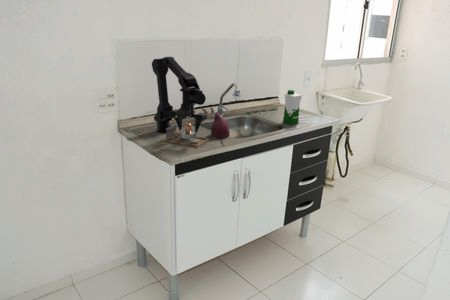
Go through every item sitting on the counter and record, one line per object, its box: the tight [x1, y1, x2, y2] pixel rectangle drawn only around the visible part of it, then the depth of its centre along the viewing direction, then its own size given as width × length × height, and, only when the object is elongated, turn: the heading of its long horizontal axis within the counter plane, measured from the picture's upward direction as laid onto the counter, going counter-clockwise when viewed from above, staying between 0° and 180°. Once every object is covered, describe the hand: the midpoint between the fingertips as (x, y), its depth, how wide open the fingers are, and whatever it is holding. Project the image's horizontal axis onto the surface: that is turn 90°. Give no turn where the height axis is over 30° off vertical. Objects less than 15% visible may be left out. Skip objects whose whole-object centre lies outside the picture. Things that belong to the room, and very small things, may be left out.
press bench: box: [163, 125, 210, 149], centre depth 188 cm, size 20×12×6 cm, turn 66°
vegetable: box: [210, 111, 231, 139], centre depth 197 cm, size 10×10×15 cm
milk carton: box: [282, 89, 303, 126], centre depth 228 cm, size 9×9×20 cm
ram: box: [179, 122, 197, 141], centre depth 186 cm, size 7×6×8 cm
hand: (188, 131), depth 186 cm, fingers open, 9 cm apart
